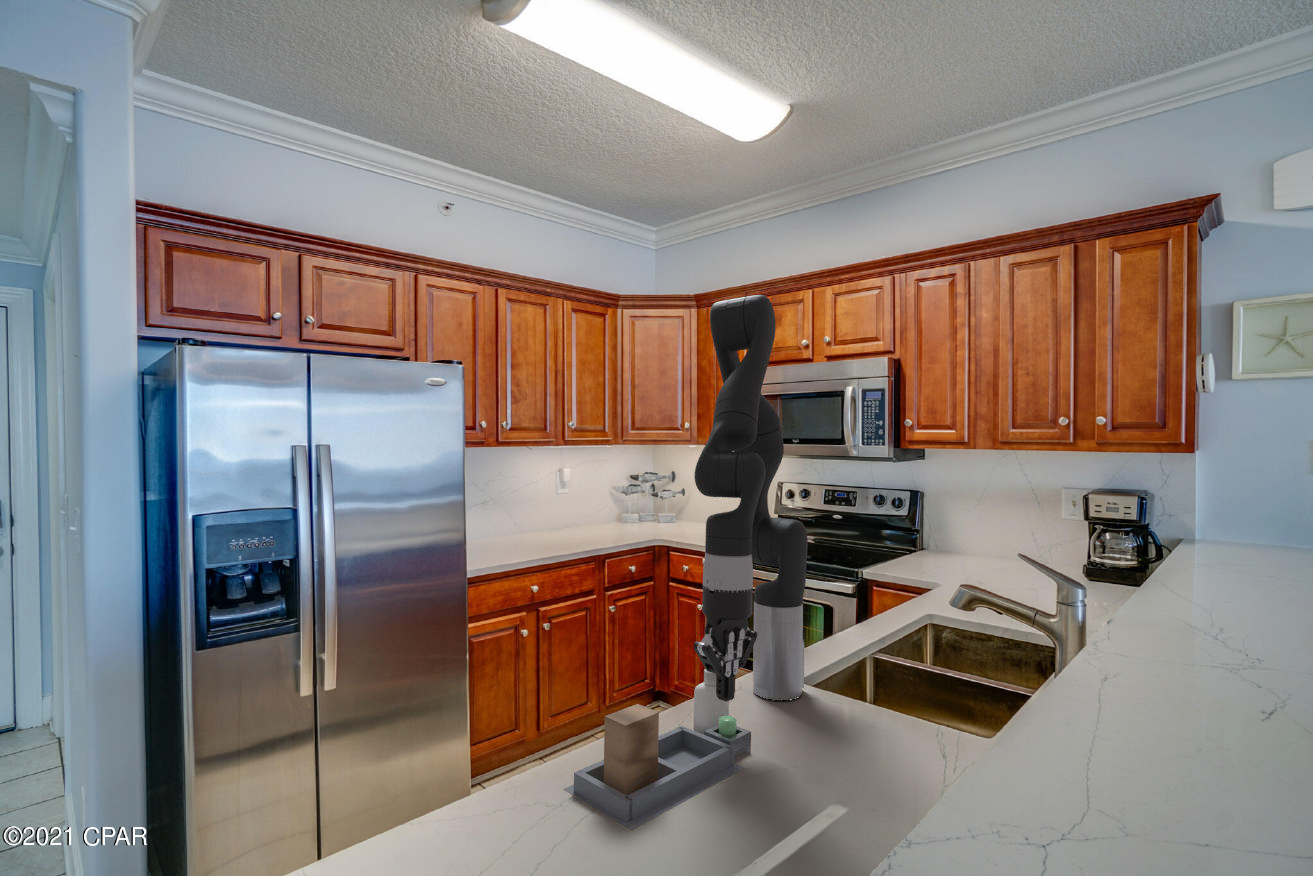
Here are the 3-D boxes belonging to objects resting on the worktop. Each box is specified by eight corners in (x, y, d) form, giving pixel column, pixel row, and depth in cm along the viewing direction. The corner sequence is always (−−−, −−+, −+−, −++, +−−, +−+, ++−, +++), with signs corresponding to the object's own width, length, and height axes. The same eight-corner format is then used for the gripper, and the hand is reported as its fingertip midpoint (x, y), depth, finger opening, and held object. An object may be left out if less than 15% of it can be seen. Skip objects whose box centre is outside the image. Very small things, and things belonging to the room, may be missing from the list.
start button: (725, 732, 102) (726, 714, 102) (739, 738, 100) (739, 719, 100) (715, 737, 100) (715, 719, 100) (728, 743, 98) (729, 724, 98)
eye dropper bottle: (713, 727, 111) (714, 655, 111) (731, 741, 106) (732, 665, 106) (690, 732, 109) (691, 658, 109) (708, 746, 104) (709, 669, 104)
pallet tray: (676, 748, 103) (677, 722, 103) (744, 778, 94) (745, 749, 94) (563, 800, 87) (563, 769, 87) (631, 842, 78) (632, 808, 78)
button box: (724, 747, 103) (724, 721, 103) (750, 758, 100) (750, 731, 100) (703, 757, 100) (704, 731, 100) (730, 769, 96) (730, 741, 96)
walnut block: (636, 777, 91) (637, 703, 91) (657, 788, 88) (658, 712, 88) (603, 793, 86) (604, 716, 86) (624, 805, 83) (625, 725, 84)
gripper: (735, 574, 108) (733, 682, 107) (679, 584, 98) (677, 703, 98) (773, 582, 102) (771, 695, 102) (719, 593, 93) (716, 718, 93)
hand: (725, 699), depth 100 cm, fingers closed
